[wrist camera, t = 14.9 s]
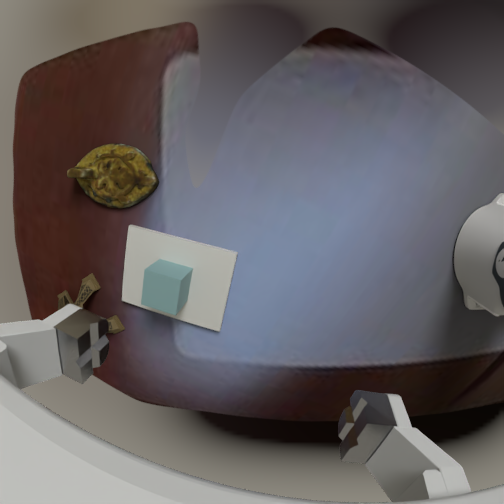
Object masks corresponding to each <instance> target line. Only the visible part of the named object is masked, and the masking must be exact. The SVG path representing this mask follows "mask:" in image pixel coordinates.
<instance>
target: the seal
mask: <svg viewBox="0 0 504 504" xmlns="http://www.w3.org/2000/svg"><path fill="white" fill-rule="evenodd" d="M67 176H68V177H69V178H77V180H78V182H79V184H80V186H81V187H82V189H83V190H84V192H85V193H86V194H87V195H88V196H89V197H90V198H91V199H92V200H94V201H95V202H97V203H100V204H103V205H106V206H108V207H111V208H126V207H130V206H132V205H134V204H136V203H138V202H140V201H141V200H143V199H144V198H146V197H148V196H149V195H150V194H151V193H152V192H153V191H154V190H155V189H156V187H157V185H158V183H159V180H158V177H157V175H156V173H155V172H154V170H153V168H152V164H151V162H150V160H149V159H148V158H147V157H146V156H145V155H144V154H143V153H142V152H141V151H140V150H138V149H137V148H135V147H132V146H128V145H124V144H106V145H102V146H100V147H97V148H95V149H93V150H92V151H91V152H89V153H88V154H87V155H86V156H85V157H84V158H83V159H82V160H81V161H80V162H79V163H78V165H77V166H75V167H74V168H71V169H69V170H68V172H67Z"/></svg>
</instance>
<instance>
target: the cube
mask: <svg viewBox="0 0 504 504" xmlns="http://www.w3.org/2000/svg"><path fill="white" fill-rule="evenodd" d="M192 271H193V268H190V267H187V266H183V265H180V264H176V263H173V262H169V261H166V260H162V259H159V260H157V261H156V262H154V263H153V264H152V265H150V266H149V267H147V268H146V269H145V270H144V279H143V289H142V299H141V304H142V305H145V306H148V307H151V308H154V309H157V310H160V311H163V312H166V313H169V314H172V315H175V316H176V315H177V313H178V312H179V311H180V310H181V308H182V307H183V306H184V304H185V303H186V302H187V300H188V294H189V288H190V282H191V277H192Z"/></svg>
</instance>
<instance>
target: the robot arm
mask: <svg viewBox="0 0 504 504" xmlns="http://www.w3.org/2000/svg"><path fill="white" fill-rule="evenodd" d="M454 268H455V273H456V277H457V280H458V282H459V284H460V285H461V287H462V289H463V292H464V304H465V306H466V307H467V308H468V309H470V310H483V309H486V310H487V311H489V312H490V313H492V314H493V315H495V316H497V317H498V316H499V315H504V193H500V194H499V195H498V196H497V197H496V198H495V199H494V200H493V201H492V203H490V204H488V205H486V206H483V207H481V208H479V209H477V210H476V211H475V212H474V213H472V214H471V215H470V217H469V218H468V219H467V220H466V222H465V223H464V225H463V227H462V229H461V231H460V233H459V235H458V238H457V242H456V246H455V252H454ZM108 331H109V323H108V321H107V320H106V319H105V318H103V317H101V316H98V315H96V314H94V313H92V312H90V311H87V310H85V309H83V308H81V307H79V306H76V305H74V304H68V305H66V306H65V307H63V308H62V309H60V310H58V311H57V312H55V313H54V314H52V315H51V316H49V317H47V318H46V319H44V320H43V321H41V320H30V321H21V322H11V323H2V324H0V504H504V484H502V485H499V486H495V487H491V488H487V489H483V490H479V491H474V492H471V489H470V486H469V484H468V481H467V478H466V476H465V473H464V471H463V468H462V466H461V465H460V464H458V463H457V462H456V461H455V460H454V459H452V458H451V457H450V456H449V455H447V454H446V453H445V452H444V451H443V450H442V449H440V448H439V447H438V446H437V445H435V444H434V443H433V442H432V441H431V440H430V439H428V438H427V437H426V436H425V435H424V434H422V433H421V432H420V431H419V430H418V429H417V428H412V426H411V423H410V420H409V417H408V415H407V412H406V409H405V407H404V404H403V401H402V399H401V397H400V396H399V395H395V394H381V393H373V392H366V391H360V390H356V391H355V392H354V393H353V395H352V397H351V399H350V401H351V406H349V407H347V408H346V409H345V410H344V411H343V413H342V415H341V418H340V421H339V426H338V435H339V437H340V438H341V439H342V440H343V441H342V443H341V445H340V457H341V461H343V462H351V463H362V464H365V466H366V467H367V468H368V470H369V471H370V473H371V474H372V475H373V477H374V478H375V479H376V481H377V482H378V483H379V485H380V486H381V488H382V489H383V490H384V492H385V493H386V494H387V496H388V497H389V498H390V500H391V501H392V502H382V503H351V502H331V501H317V500H307V499H298V498H290V497H283V496H277V495H271V494H265V493H259V492H255V491H250V490H245V489H240V488H236V487H232V486H227V485H224V484H220V483H216V482H212V481H209V480H205V479H202V478H199V477H195V476H192V475H189V474H186V473H183V472H180V471H177V470H174V469H171V468H168V467H166V466H163V465H160V464H157V463H155V462H152V461H149V460H147V459H145V458H142V457H140V456H138V455H135V454H133V453H131V452H128V451H126V450H124V449H121V448H120V447H117V446H115V445H113V444H111V443H109V442H107V441H105V440H103V439H101V438H99V437H97V436H95V435H93V434H91V433H89V432H87V431H86V430H83V429H82V428H80V427H78V426H77V425H75V424H73V423H71V422H70V421H68V420H66V419H64V418H63V417H61V416H60V415H58V414H56V413H54V412H53V411H51V410H50V409H48V408H47V407H45V406H44V405H42V404H41V403H39V402H38V401H36V400H35V399H33V398H32V397H30V396H29V395H28V394H26V393H25V392H23V391H22V390H21V389H22V388H25V387H28V386H31V385H34V384H37V383H40V382H43V381H46V380H49V379H52V378H55V377H58V376H61V375H62V374H64V375H65V376H67V377H69V378H71V379H73V380H75V381H77V382H79V383H81V384H83V383H84V382H85V381H86V380H87V379H88V378H89V377H90V376H91V375H92V374H93V368H95V367H99V366H101V365H102V363H103V362H104V361H105V359H106V357H107V355H108V351H109V341H108V339H107V337H106V335H105V334H106V333H107V332H108Z"/></svg>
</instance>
